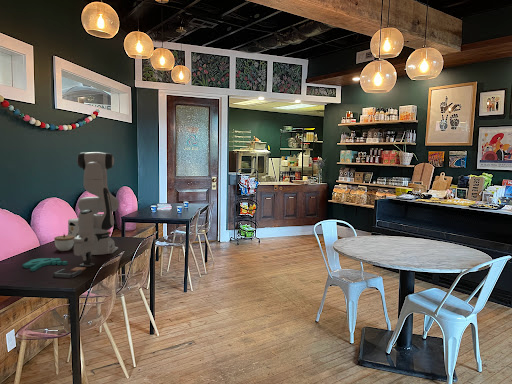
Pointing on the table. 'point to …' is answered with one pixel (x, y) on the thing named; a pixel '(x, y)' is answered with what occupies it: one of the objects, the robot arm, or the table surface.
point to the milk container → (73, 227)
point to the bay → (62, 274)
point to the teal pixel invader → (43, 263)
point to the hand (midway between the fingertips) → (86, 259)
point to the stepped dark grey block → (87, 261)
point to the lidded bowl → (64, 242)
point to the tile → (78, 268)
